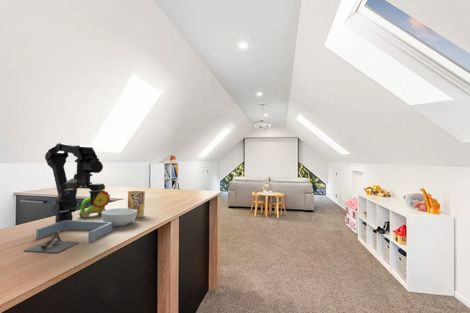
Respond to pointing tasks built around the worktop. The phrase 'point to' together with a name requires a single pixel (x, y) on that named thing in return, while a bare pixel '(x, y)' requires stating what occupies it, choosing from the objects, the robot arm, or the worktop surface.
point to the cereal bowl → (119, 216)
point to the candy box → (136, 202)
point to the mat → (52, 247)
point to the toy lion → (95, 204)
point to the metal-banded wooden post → (52, 241)
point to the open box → (96, 227)
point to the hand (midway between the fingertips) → (82, 204)
